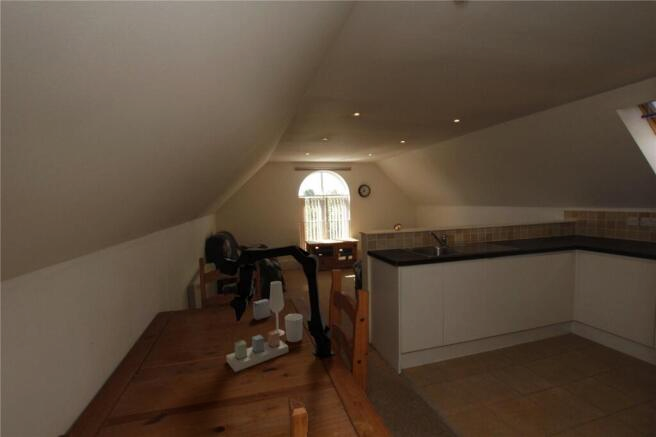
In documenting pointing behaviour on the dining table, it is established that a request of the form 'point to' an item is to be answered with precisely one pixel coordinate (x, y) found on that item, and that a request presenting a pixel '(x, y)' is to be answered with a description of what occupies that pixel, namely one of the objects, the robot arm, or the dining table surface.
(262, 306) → the medicine box
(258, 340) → the grey rectangular block
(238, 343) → the pale green block
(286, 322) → the white cup
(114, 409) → the dining table surface
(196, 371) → the dining table surface
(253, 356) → the button board
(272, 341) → the terracotta button
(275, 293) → the champagne flute
